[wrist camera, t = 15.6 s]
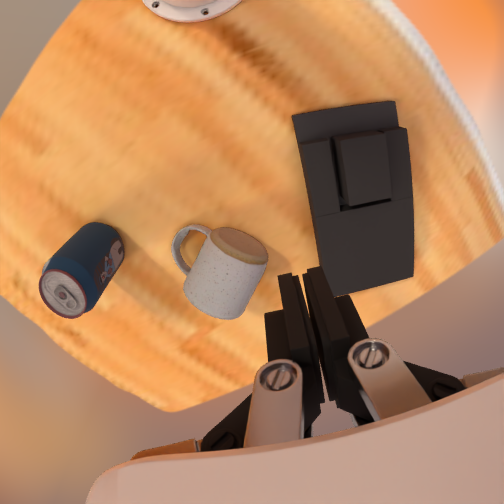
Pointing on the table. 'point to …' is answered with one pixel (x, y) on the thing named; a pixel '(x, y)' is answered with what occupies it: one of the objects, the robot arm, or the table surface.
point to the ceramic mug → (222, 270)
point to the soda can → (81, 270)
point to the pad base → (362, 215)
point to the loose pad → (362, 166)
